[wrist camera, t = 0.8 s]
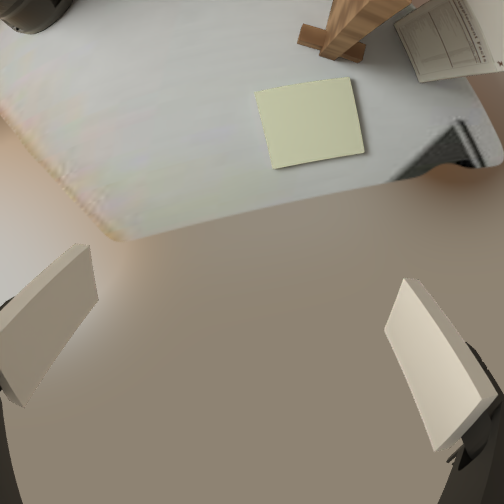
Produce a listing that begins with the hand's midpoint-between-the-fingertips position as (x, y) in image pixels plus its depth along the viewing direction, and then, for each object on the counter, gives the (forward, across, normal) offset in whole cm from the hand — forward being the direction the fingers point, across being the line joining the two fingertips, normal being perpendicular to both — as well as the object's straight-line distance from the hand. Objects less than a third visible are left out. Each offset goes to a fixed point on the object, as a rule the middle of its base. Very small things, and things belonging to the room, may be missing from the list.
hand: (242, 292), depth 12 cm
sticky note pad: (+28, +6, +7) cm, 30 cm away
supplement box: (+28, +22, +22) cm, 42 cm away
